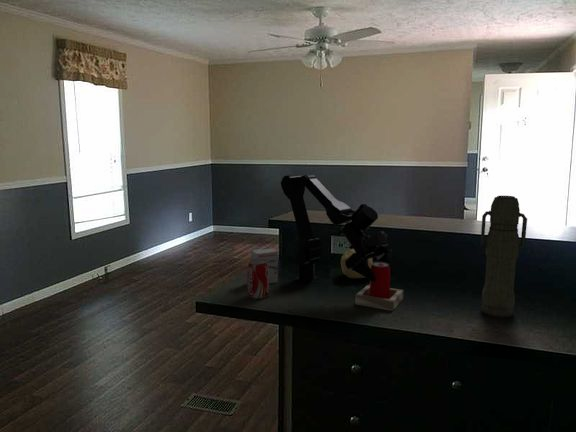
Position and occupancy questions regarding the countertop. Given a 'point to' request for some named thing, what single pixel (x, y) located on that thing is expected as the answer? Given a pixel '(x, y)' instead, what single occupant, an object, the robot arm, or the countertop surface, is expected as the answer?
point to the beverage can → (380, 280)
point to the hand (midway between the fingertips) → (384, 278)
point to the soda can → (257, 278)
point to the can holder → (379, 299)
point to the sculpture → (349, 272)
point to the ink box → (268, 261)
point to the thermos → (501, 255)
